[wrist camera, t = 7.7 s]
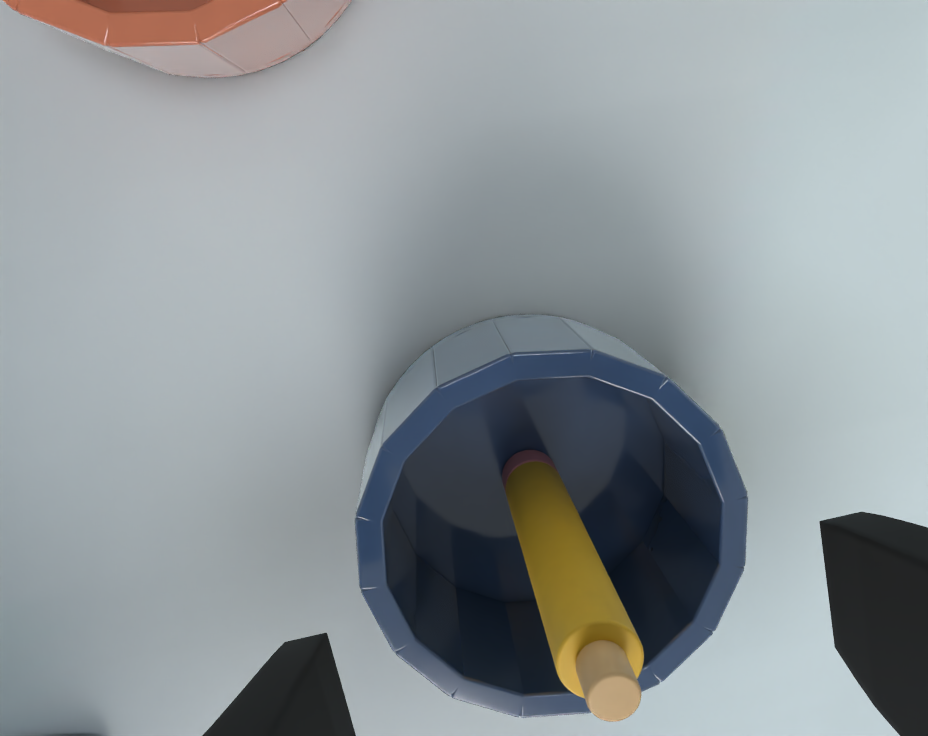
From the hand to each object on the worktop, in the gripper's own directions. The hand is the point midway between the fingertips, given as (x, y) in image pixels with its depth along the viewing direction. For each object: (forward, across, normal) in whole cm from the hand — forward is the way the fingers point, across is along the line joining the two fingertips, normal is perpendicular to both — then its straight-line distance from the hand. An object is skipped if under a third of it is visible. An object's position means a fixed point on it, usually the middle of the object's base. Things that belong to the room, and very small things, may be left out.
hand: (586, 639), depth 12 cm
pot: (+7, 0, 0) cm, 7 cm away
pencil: (+6, 0, 0) cm, 7 cm away
